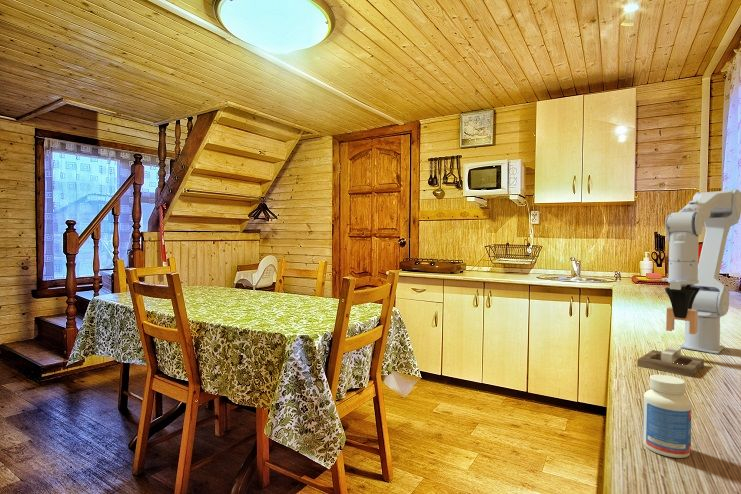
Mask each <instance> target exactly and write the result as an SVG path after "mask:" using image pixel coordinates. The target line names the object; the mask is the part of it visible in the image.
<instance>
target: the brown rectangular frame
mask: <svg viewBox="0 0 741 494" xmlns="http://www.w3.org/2000/svg"><path fill="white" fill-rule="evenodd" d="M681 350H682V348H680V347H674V346H670V347H668V348H666V349H665V350H663V351H660V350H655V349H652V350H651V351H649V352H648V353H646V354H644V355H642V356H641V357H639V358H638V359H637V367H640V368H641V367H642V368H646V369H651V370H656V371H662V372H667V373H670V374H676V375H681V376H686V377H690V378H692V377H694V376H695V375H696V374H697V373H699V371H700V370H701V369H702V368H703V367H704V366H705V359H704V358H700V357H694V356H689V355H684V354H683V355H682V354H681V353H682V351H681ZM673 362H674V363H673ZM677 363H678V364H677ZM682 364H683V365H682Z"/></svg>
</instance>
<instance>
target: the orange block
mask: <svg viewBox="0 0 741 494" xmlns="http://www.w3.org/2000/svg"><path fill="white" fill-rule="evenodd" d="M665 319H666V322H665V323H666V324H665V325H666V326H665V330H666V331H668V332H672V331H674V330H675V320H677V321H684V322H685V321H690V323H689V334H696V333H697V325H698V310H694V309H688V312H687V316H686V318H685V319H684V318H676V317H674V313H673V309H672V306H669V307H666V318H665Z"/></svg>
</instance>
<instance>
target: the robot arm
mask: <svg viewBox="0 0 741 494" xmlns="http://www.w3.org/2000/svg"><path fill="white" fill-rule="evenodd" d="M740 219H741V190H739V189H733V190H721V191H720V190H718V191H717V190H716V191H707V192H706V191H704V192H701V191H697V192H695V194H694V195H693V197H692V200H689V202H688V203H687V204H686V205H684V207H682V208H681V209H680V210H679V211H678V212H676V211H675V212H671V213H670V214H668V215H667V216H666V217H665V223H664V229H665V232H666V240H667V241H666V242H667V243H668V277H663V278H662V282H668V284H669V286H668V287H667V286H666V287H664V290H665V293H666V294H667V296H668V298H669V300H670V304H671V307H672V309H673V313H674V317H676V318H684V319H685V318H686V316H687V312H688V309H694V310H698V325H697V333H696V334H689V323H690V321H684V342H683V343H682V344H681V345H680V346H679V348H681V349H686V350H693V351H698V352H699V351H700V352H704V353H711V354H716V355H717V354H720V352H722V351H723V350H724V349H725V346H724V345H721V343H720V342H721V341H720V340H721V318H723V317H724V316H726V315H727V314H728V311H729V307H730V292H729V289H728V287H727V286H726V285H725V284H724V283H722V282H721V281H719V277H720V273H721V267H722V261H723V259H724V254H725V253H724V252H725V249H726V243H727V240H728V239H727V238H728V235H729V232H730V229H731V227H733V226H734V225H737V224H738V223H739V220H740ZM704 228H705V234H704V236H703V237H704V239H703V243H702V248H701V251H700V256H699V238H700V236H701V235H702V234H703V230H704Z"/></svg>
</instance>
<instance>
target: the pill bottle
mask: <svg viewBox="0 0 741 494" xmlns="http://www.w3.org/2000/svg"><path fill="white" fill-rule="evenodd" d="M649 387H650V388H651V389H648V390H647V391H645V392H644V394H643V410H642V411H643V413H642V414H643V418H642V420H643V421H642V422H643V423H642V424H643V425H642V429H643V430H642V442H643V445H644V446H645V448H647V449H648V450H650V451H651V452H654V453H655V454H659V455H661V456H665V457H669V458H674V459H675V458H676V459H683V458H687V457H689V456H690V455H691V451H692V403H691V402H692V401H691V400H690V399H689V398H688V397H687V396H686V395H684V394H685V392H686V381H685V380H684V379H682V378H679V377H677V376H672V375H667V374H666V375H665V374H652V375H650V376H649Z"/></svg>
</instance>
